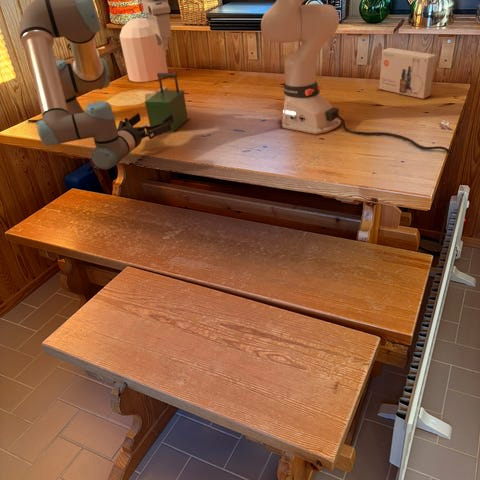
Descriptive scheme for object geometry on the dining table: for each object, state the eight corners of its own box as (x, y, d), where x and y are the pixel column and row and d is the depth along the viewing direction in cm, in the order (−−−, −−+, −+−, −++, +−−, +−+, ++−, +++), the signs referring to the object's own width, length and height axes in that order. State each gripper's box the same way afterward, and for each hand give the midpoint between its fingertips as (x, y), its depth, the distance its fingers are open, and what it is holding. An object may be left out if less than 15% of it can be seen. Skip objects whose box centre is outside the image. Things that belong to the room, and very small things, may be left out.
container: (160, 81, 233) (149, 21, 217) (121, 82, 238) (108, 23, 222) (174, 69, 249) (165, 13, 233) (138, 70, 254) (126, 15, 238)
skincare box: (377, 89, 194) (381, 50, 185) (385, 86, 197) (389, 47, 188) (423, 99, 180) (429, 56, 171) (430, 95, 183) (437, 53, 174)
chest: (166, 118, 188) (161, 92, 182) (187, 119, 185) (183, 93, 179) (150, 130, 177) (145, 104, 172) (173, 131, 174) (169, 105, 169)
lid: (162, 92, 182) (158, 71, 178) (184, 92, 179) (181, 71, 175) (145, 104, 172) (140, 81, 167) (168, 104, 169) (165, 82, 164)
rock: (145, 102, 210) (147, 105, 201) (142, 87, 208) (144, 90, 199) (168, 98, 212) (171, 101, 203) (166, 84, 210) (168, 86, 201)
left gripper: (96, 148, 159) (128, 125, 175) (161, 153, 151) (187, 128, 167) (91, 128, 154) (123, 106, 171) (157, 131, 147) (184, 108, 163)
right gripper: (141, 3, 168) (148, 43, 176) (152, 10, 152) (160, 54, 160) (158, 1, 170) (164, 41, 178) (171, 7, 154) (177, 51, 162)
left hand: (155, 117), depth 169 cm, fingers open, 13 cm apart
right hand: (162, 47), depth 169 cm, fingers open, 8 cm apart
